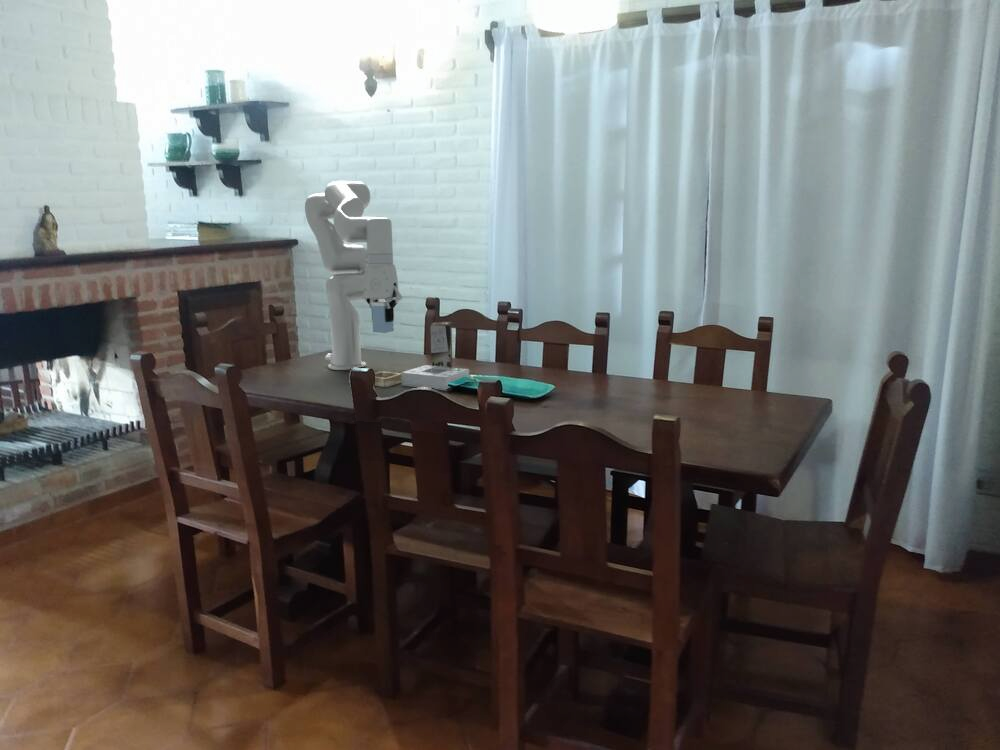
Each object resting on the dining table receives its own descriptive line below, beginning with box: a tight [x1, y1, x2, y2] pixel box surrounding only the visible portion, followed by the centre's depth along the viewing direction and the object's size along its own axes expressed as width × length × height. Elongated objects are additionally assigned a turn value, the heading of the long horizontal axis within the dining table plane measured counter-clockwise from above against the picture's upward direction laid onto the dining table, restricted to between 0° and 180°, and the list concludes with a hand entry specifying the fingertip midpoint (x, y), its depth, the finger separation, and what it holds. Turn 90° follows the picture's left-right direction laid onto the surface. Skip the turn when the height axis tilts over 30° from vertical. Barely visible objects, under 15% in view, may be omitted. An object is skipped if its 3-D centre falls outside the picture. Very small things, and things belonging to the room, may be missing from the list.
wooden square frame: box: [374, 370, 402, 388], centre depth 234 cm, size 9×9×2 cm
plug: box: [371, 300, 395, 334], centre depth 230 cm, size 4×4×9 cm
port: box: [400, 364, 470, 391], centre depth 232 cm, size 16×13×4 cm
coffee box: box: [429, 321, 454, 368], centre depth 248 cm, size 9×6×16 cm
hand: (382, 320), depth 230 cm, fingers closed on plug, 4 cm apart
